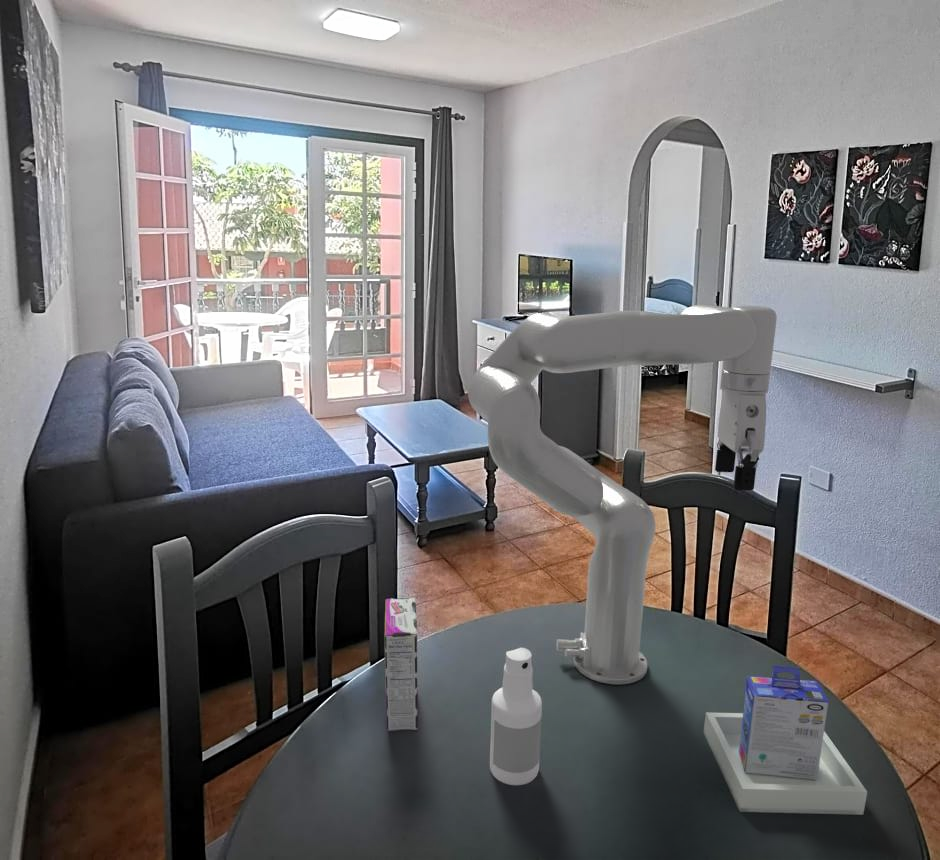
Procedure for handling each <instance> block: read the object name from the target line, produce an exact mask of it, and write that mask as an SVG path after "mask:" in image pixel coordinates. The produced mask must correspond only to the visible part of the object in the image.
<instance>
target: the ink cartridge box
mask: <svg viewBox="0 0 940 860" xmlns="http://www.w3.org/2000/svg"><path fill="white" fill-rule="evenodd" d="M771 671H772V673H771V677H763V676H750V675H747V676H746V681H745V692H744V693H745V694H744V700H743V701H744V703H743V712H742V713H743V720H742V729H741V737H740V746H739V755H740V758H741V762H742V765H743V769H744V771H745V772H747V773H756V774H766V775H776V776H785V777H795V778H805V779H814V780H816V779H817V777H818V770H819V763H820V755H821V749H822V742H823V735H824V731H825V728H826V721H827V714H828V708H829V699H828V698H827V696H826V694H825V693H824V691H823V689H822V687H821V685H820V683H818V681H817V680H808V679H807V680H804V679H801V674H800V668H799V667H793V666H792V667H791V666H784V665H773V664H772V670H771ZM780 673H789V674H792V675H794V678H789V677H787V678H786V677H779V676H777V674H780Z"/></svg>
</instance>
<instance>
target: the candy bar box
mask: <svg viewBox="0 0 940 860" xmlns="http://www.w3.org/2000/svg"><path fill="white" fill-rule="evenodd" d="M384 602H385V603H384V605H385V608H384V675H385V679H384V681H385V713H386V730H387V731H388V732H403V731H417V730H418V729H419V676H418V673H419V670H418V669H419V668H418V667H419V663H418V620H417V605H416V598H415V597H410V598H409V597H408V598H407V597H404V598H403V597H402V598H400V597H397V598H394V597H393V598H387V599H385V601H384Z"/></svg>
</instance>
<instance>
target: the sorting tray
mask: <svg viewBox="0 0 940 860" xmlns="http://www.w3.org/2000/svg"><path fill="white" fill-rule="evenodd" d="M742 720H743V712H708V711H707V712H705V718H704V726H703V735H704V737H705V739H706V741H707V743H708V746H709V748H710V750H711V751H712V754H713V756H714V758H715V761H716V763H717V766H718V767H719V770H720V771H721V774H722V776H723V778H724V780H725V782H726V784H727V787H728V790H729V791H730V794H731V795H732V798H733V800H734V802H735V805H736V807H737V809H738V810H739V812H740V813H772V814H773V813H774V814H775V813H778V814H779V813H782V814H783V813H784V814H814V815H816V814H821V815H822V814H825V815H859V816H860V815H861V816H862V815H864V812H865V808H866V802H867V796H868V791H867V790H866V788H865V786H864V785H863V784H862V782H861V780H860V779H859V778H858V776H857V775H856V773H855V772H854V771H853V769H852V768H851V766H849V763H848V762H847V761H846V759H845V758H844V757H843V755H842V754H841V752H840V751H839V749H838V748H837V747H836V746H835V744H834V743H833V741H832V740H831V739H830V737H829V736H828V734H827V733H826V731H825V730H824V735H823V742H822V749H821V755H820V763H819V770H818V777H817V779H816V780H814V779H805V778H795V777H785V776H776V775H766V774H756V773H747V772H745V771H744V769H743V765H742V762H741V758H740V755H739V746H740V737H741V729H742Z"/></svg>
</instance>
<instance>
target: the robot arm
mask: <svg viewBox="0 0 940 860" xmlns="http://www.w3.org/2000/svg"><path fill="white" fill-rule="evenodd" d="M776 326H777V313H776V311H775V309H773V308H770V307H767V306H758V305H757V306H756V305H738V306H734V307H729V306H720V305H711V304H704V303H702V304H701V303H700V304H699V303H698V304H694V305H691V306H689V307H687V308H685V309H684V310H683V311H682V312H681V313H680V314H675V313H674V314H673V313H660V312H653V311H648V310H647V311H646V310H632V309H631V310H630V309H629V310H619V311H618V310H617V311H609V312H600V313H599V312H598V313H589V314H578V315H569V316H558V315H554V314H551V313H545V312H539V313H533V314H532V315H529V316H528V317H527V318H525V319H524V320H523V321H521V322H520V323H519V324H518V325H517V326H516V327H515V328H514V329H513V330H512V331H511V332H510V333H509V334H508V335H507V337H506V338H505V339H504V340H503V341H502V342H501V343H500V344H499V345H498V347H496V349H495V350H494V351H493V352H492V353H491V354H490V355H489V356H488V357H487V359H486V360H484V362H482V364H481V365H480V366H479V367H478V368H477V370H475V372H474V374H473V375H472V377H471V379H470V381H469V384H468V387H467V388H468V389H467V398H468V400H469V404H470V406H471V407H472V409H473V410H474V411H475V412H476V413H477V414H478V415H480V417H482V418H483V419H484V420H486V421H487V444H488V449H489V453H490V456H491V458H492V461H493V463H494V464H495V465H496V466H497V467H498V468H499V470H500V471H501V472H503V473H504V474H505V475H507V476H508V477H509V478H511V479H512V480H513V481H515V482H516V483H517V484H519V485H520V486H522V487H523V488H525V489H526V490H527V491H528V492H530V493H531V494H533V495H535V496H536V497H538V498H539V499H540V500H542V502H544V503H545V504H546V505H547V506H549V507H550V508H551V509H553V510H554V511H556V512H558V513H560V514H562V515H564V516H567V517H568V516H569V517H571V518H572V519H574V520H575V521H577V522H578V523H580V524H581V525H582V526H583V527H584V528H586V529H587V530H588V531H589V532H590V534H592V535H593V536H594V537H595V542H596V543H595V546H594V549H593V551H592V553H591V556H590V559H589V563H588V571H587V584H586V585H587V587H586V588H587V589H586V603H585V617H584V618H585V619H584V632H579V633H580V634H579V638H577V637H575V638H574V639H562V638H561V639H560V638H559V639H556V651H559V652H564V656H565V658H573V663H574V666H575V667H576V669H577V671H579V672H580V673H581V674H582V675H583V676H585V677H587V678H589V679H591V680H593V681H596V682H599V683H603V684H608V685H619V686H620V685H629V684H632V683H635V682H638V681H639V680H641V679H643V678H644V677H645V675H646V674H647V671H648V660H647V659H646V656H644V654H643V653H642V652H641V651H640V648H641V646H640V645H641V636H642V635H641V634H642V626H643V625H642V624H643V613H644V612H643V611H644V601H645V591H646V590H645V588H646V577H647V567H648V561H649V557H650V551H651V548H652V545H653V542H654V538H655V534H656V527H657V526H656V524H657V523H656V519H655V516H654V513H653V512H652V509H651V507H650V506H649V505H648V503H646V502H645V501H644V500H643V499H642V498H641V497H639V496H638V495H637V494H635V493H634V492H632V491H631V490H630V489H628V488H625V487H624V486H622V485H621V484H619V483H617V482H616V481H615V480H613V479H612V478H611V477H609V476H608V475H606V474H604V473H603V472H601V471H600V470H599V469H597V468H596V467H594V466H593V465H592V464H590V462H589V463H588V462H587V461H586V460H585V459H583V457H581V456H579V455H578V454H576V453H575V452H573V451H572V450H571V449H569V448H567V447H565V446H562V445H558V444H557V443H556V442H555V441H554V440H552V439H551V438H549V437H548V436H547V435H545V434H544V433H543V431H542V429H541V423H540V422H541V421H540V420H541V402H540V396H539V394H538V392H537V390H536V388H535V387H534V386H533V384H532V383H533V381H534V380H535V379H536V378H537V377H538V376H539V375H540V373H541V372H542V371H546V372H549V373H553V374H568V373H570V374H571V373H576V372H577V373H579V372H586V371H587V372H588V371H593V370H601V369H609V368H610V369H611V368H618V367H619V368H620V367H627V366H628V367H629V366H647V367H648V366H666V365H669V366H670V365H698V364H709V363H715V362H722V366H721V374H720V375H721V376H720V383H719V390H721V391H723V392H722V396H721V397H722V398H721V403H720V408H719V416H718V425H717V438H718V442H717V443H716V444H717V445H716V457H715V467H714V471H715V472H716V473H733V472H734V479H733V485H732V486H733V489H734V490H736V491H753V490H754V489H755V482H756V474H757V468H758V462H759V460H760V454H762V452H763V451H764V450H765V439H766V438H765V437H766V424H767V423H766V422H767V394H768V393H769V386H770V385H769V384H770V379H771V378H770V377H771V369H772V368H771V367H772V362H773V361H772V360H773V352H774V345H775V337H776V330H777V329H776V328H777V327H776ZM744 455H745V456H744ZM736 458H737V465H736ZM735 465H736V466H735Z"/></svg>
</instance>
